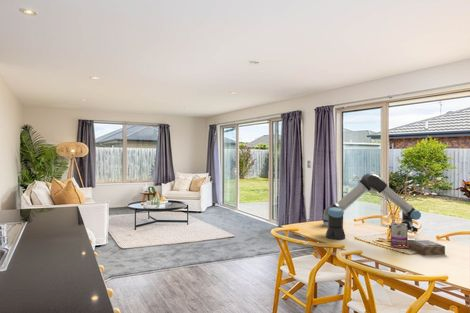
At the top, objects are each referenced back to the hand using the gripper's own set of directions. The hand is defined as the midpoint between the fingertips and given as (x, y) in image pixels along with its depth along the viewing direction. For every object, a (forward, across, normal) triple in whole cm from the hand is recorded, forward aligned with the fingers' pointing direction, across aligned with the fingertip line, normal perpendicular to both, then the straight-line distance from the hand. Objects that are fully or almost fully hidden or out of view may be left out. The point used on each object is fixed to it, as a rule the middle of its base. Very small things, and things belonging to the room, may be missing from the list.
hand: (401, 230), depth 263 cm
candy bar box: (+8, 0, -10) cm, 13 cm away
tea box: (-37, +66, -10) cm, 77 cm away
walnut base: (+14, -18, -10) cm, 25 cm away
